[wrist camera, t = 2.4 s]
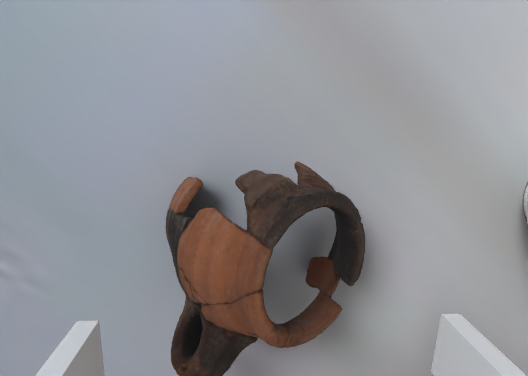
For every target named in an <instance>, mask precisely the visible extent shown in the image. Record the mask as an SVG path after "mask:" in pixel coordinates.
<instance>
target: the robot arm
mask: <svg viewBox="0 0 528 376" xmlns="http://www.w3.org/2000/svg"><path fill="white" fill-rule="evenodd" d="M431 373H432V374H433V376H526V375H525V374H524V373H523V372H522V371H521V370H520V369H519V368H518V367H517V366H515V365H514V364H513V363H512V362H511V361H510V360H509V359H508V358H507V357H506V356H505V355H504V354H503V353H501V352H500V351H499V350H498V349H497V348H496V347H495V346H494V345H493V344H492V343H491V342H490V341H489V340H487V339H486V338H485V337H484V336H483V335H482V334H481V333H480V332H479V331H478V330H477V329H476V328H475V327H473V326H472V325H471V324H470V323H469V322H468V321H467V320H466V319H465V318H464V317H463V316H462V315H461V314H441V318H440V324H439V330H438V335H437V341H436V346H435V352H434V357H433V363H432V368H431ZM35 376H104V366H103V356H102V347H101V337H100V327H99V321H77V322H76V323H75V324H74V326H73V327H72V328H71V329H70V331H69V332H68V333H67V335H66V336H65V337H64V339H63V340H62V341H61V343H60V344H59V345H58V346H57V348H56V349H55V350H54V352H53V353H52V354H51V356H50V357H49V358H48V359H47V361H46V362H45V363H44V365H43V366H42V367H41V369H40V370H39V371H38V372H37V374H36V375H35Z"/></svg>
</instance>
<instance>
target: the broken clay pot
mask: <svg viewBox="0 0 528 376" xmlns="http://www.w3.org/2000/svg"><path fill="white" fill-rule="evenodd" d="M295 169H296V171H297V173H298V185H296V184H295V183H294V182H293V181H292V180H290V179H289V178H287V177H284V176H282V175H278V174H265V173H263V172H261V171H258V170H253V171H250V172H248V173H246V174H244V175H241V176H240V177H238V178H237V179H236V182H235V183H236V185H237V187H238V188H239V189H240V190H241V191H242V192H243V193H244V194H245V196H244V200H245V206H246V210H247V230H244V229H242V228H241V227H239V226H238V225H236V224H235V223H233V222H232V221H230V220H229V219H228V218H226V217H225V216H224V215H223V214H222V213H221V212H220V211H219V210H218V209H216V208H214V207H212V208H204V209H201V210H199V211H198V213H197V214H196V216H195V217H194V219H191V218H189V217H185V216H184V213H185V211H186V210H187V208H188V206H189V204H190V203H191V201H192V199H193V198H194V197H195V195H196V194H197V193H198V191H199V190H200V189H201V188H202V186H203V182H202V181H201V180H200V179H198V178H193V177H188V178H186V179H185V180H184V182H183V183H182V184H181V185H180V186H179V188H178V189H177V191H176V193H175V194H174V196H173V198H172V201H171V203H170V206H169V210H168V212H167V217H166V234H167V239H168V242H169V245H170V248H171V252H172V256H173V262H174V266H175V269H176V273H177V277H178V280H179V283H180V285H181V287H182V289H183V291H184V292H185V294H186V301H185V306H184V309H183V312H182V314H181V316H180V318H179V321H178V324H177V327H176V329H175V333H174V337H173V341H172V347H171V362H172V365H173V367H174V369H175V370H176V372H177V374H178V375H179V376H222V375H223V374H224V373H225V372H226V371H227V370H228V369H229V368H230V366H231V364H232V363H233V362H234V360H235V359H236V357H237V356H238V355H239V354H240V352H241V351H242V350H243V349H244V348H246V347H247V346H249V345H250V344H252V343H254V342H256V340H257V338H258V337H259V338H261V339H262V340H264V341H265V342H266V343H268V344H270V345H272V346H276V347H280V348H283V347H287V348H288V347H294V346H297V345H300V344H303V343H306V342H308V341H310V340H312V339H314V338H315V337H316V336H317V335H318V334H320V333H322V332H323V331H324V330H325V329H326V328H327V327H328V326H329V325H330V324H331V323H332V322H333V321H334V320H335V319H336V318H337V316H338V315H339V313H340V312H341V310H342V308H341V306H340V305H339V304H338V303H336V302H335V301H333V300H332V299H331V296H332V294H333V293H334V291H335V289H336V287H337V285H338V282H339V280H340V278H341V279H342V280H343V281H344V282H345V283H346V284H347V285H349V286H352V285H354V283H355V282H356V281H357V280H358V278H359V276H360V273H361V269H362V265H363V261H364V253H365V233H364V229H363V224H362V223H361V217H360V215H359V212H358V209H357V208H356V207H355V206H354V204H353V203H352V201H351V200H350V199H349V198H348V197H346V196H345V195H343V194H341V193H339V192H336V191H335V190H334V188H333V187H332V186H331V185H330V184H329V183H328V182H327V181H325V180H324V179H323V178H322V177H321V176H319V175H318V174H317V173H316V172H314V171H313V170H312V169H311V168H309V167H307V166H306V165H304V164H302V163H300V162H296V163H295ZM320 207H328V208H330V209H331V210H332V211H334V214H335V219H336V228H337V232H336V236H335V240H334V243H333V245H332V248H331V251H330V253H329V256H328V257H315V258H312V259H311V261H310V264H309V267H308V270H307V275H306V283H307V284H308V285H309V286H310V287H313V288H314V287H315V288H318V289H319V290H320V293H319V294H318V296H317V297H316V298H315V300H314V301H313V302H312V303H311V304H310V305H309V306H308V307H307V308H306V309H305V310H304V311H303V312H302V313H300V315H298V316H297V317H295V318H293V319H291V320H290V321H288V322H286V323H283V324H275V323H273V322H272V321H271V320H270V319H269V317H268V315H267V313H266V310H265V306H264V300H263V290H262V288H263V285H264V277H265V273H266V269H267V266H268V263H269V260H270V257H271V255H272V250H273V247H274V246H275V245H276V244H277V242H278V241H279V240H280V238H281V237H282V235H283V234H284V233H285V231H286V230H287V229H288V227H289V226H290V225H291V224H292V223H293V222H295V221H296V220H297V219H298V218H300V217H301V216H303V215H304V214H306V213H307V212H309V211H311V210H313V209H317V208H320Z"/></svg>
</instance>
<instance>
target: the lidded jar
mask: <svg viewBox="0 0 528 376" xmlns="http://www.w3.org/2000/svg"><path fill="white" fill-rule="evenodd" d="M523 208H524V214H525V217H526V219H527V223H528V183H527V186H526V189H525V193H524V198H523Z"/></svg>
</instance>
